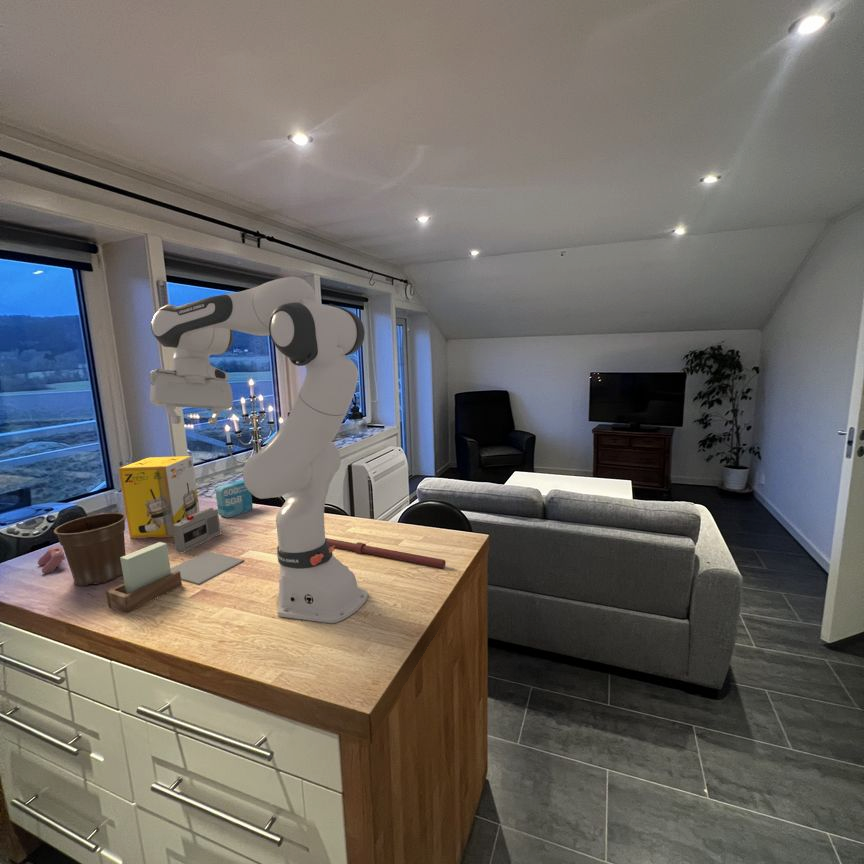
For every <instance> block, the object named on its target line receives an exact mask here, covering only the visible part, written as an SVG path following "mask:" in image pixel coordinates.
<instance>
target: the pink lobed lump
mask: <svg viewBox="0 0 864 864" xmlns="http://www.w3.org/2000/svg"><path fill="white" fill-rule="evenodd" d="M65 559H67V558H66V555H65V552H64V549H63V546H61V545H54V546H51V547H50V548H49V549H48V550H47V551H45V553H43V555H42V556H40V558H39V559H38V561H37V564H38V566H43V567H42V568H41V573H42V574H44V575H45V573H46V574H49V573H51V572H53V571H54V570H55V569H56V567H57V568H58V567H59V566H60V564H62V563H63V561H65ZM44 564H45V565H44ZM48 572H49V573H48Z"/></svg>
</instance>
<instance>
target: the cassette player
mask: <svg viewBox="0 0 864 864" xmlns="http://www.w3.org/2000/svg"><path fill="white" fill-rule="evenodd" d="M172 526H173V533H174V537H173V538H174V539H173V540H174V545H175V552H176V551H177V552H176V553H181V552H183V553H185V552H187V551H189V550H191V549H193V548H195V547H197V546H199V545H201V544H203V543H205V542H207V541H209V540H211V539H213V538H215V537H217V536H219V535H221V534H222V533H221V531H222V530H221V525H220V515H219V514H218V508H214V507H212V506H210V507H207V508H205V509H203V510H200V512H198V513H195V514H193V515H190V516H188V517H187V519H186V520H184V521H181V522H179V523H176V524H174V525H172ZM220 533H221V534H220ZM218 534H219V535H218ZM216 535H217V536H216ZM214 536H215V537H214ZM212 537H213V538H212ZM210 538H211V539H210ZM208 539H209V540H208ZM206 540H207V541H206ZM204 541H205V542H204ZM202 542H203V543H202ZM200 543H201V544H200ZM198 544H199V545H198ZM196 545H197V546H196ZM194 546H195V547H194ZM192 547H193V548H192ZM190 548H191V549H190ZM188 549H189V550H188ZM186 550H187V551H186ZM184 551H185V552H184Z"/></svg>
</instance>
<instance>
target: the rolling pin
mask: <svg viewBox="0 0 864 864" xmlns="http://www.w3.org/2000/svg"><path fill="white" fill-rule="evenodd" d="M325 538H326V539H327V541H328V543H329V546H330V547H332V546H334V545H335V547H334V548H335V549H336V548H337V549H343V550H348V551H354V552H356V553H355V554H359V553H360V555H363V554H369V555H373V556H379V557H384V558H389V559H394V560H401V561H405V562H408V563H409V562H410V563H415V564H421V565H425V566H429V565H430V567H435V568H439V569H445V567H446V563H447V562H446V560H445V559H442V558H436V557H431V556H425V555H419V554H417V553H415V554H414V553H410V552H403V551H399V550H393V549H389V548H382V547H376V546H371V545H367V544H366V543H363V542H356V543H355V542H349V541H344V540H340V539H332V538H328V537H325ZM362 553H363V554H362Z"/></svg>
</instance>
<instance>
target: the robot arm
mask: <svg viewBox="0 0 864 864" xmlns="http://www.w3.org/2000/svg"><path fill="white" fill-rule="evenodd" d="M150 328H151V333H152V334H153V336H154V338H155V339H156V340H157V341H158V342H159V344H160V345H162V347H165V348H172V350H173V358H172V370H170V369H163V368H156V369H153V370H151V371H150V372H149V383H150V389H149V390H150V391H149V402H150V403H151V404H152V405H153V406H160V407H165V410H166V412H167V413H168V415H169V417H171V425H172V424H176V425H179V424H181V422H182V419H181V418H182V416H181V415H178V414H177V413H176V411H175V410H176V407H178V408H190V409H194V408H195V409H206V410H211V413H212V417H210V418H208V425H209V426H216V425H218V418H219V415H220V413H221V410H222V411H224V410H229V409H231V408H232V407H233V405H234V398H233V397H234V395H233V391H232V390H233V389H232V386H231V384H230V383H229V382H228V381H229V380H230V375H229V373H228V372H226V371H224V370H221V369H220V368H217V367H215V366H213V365H212V364H211V361H210V356H212V355H213V356H218V355H223V354H225V353H226V352H227V351H229V350H230V348H231V347H232V346H233V342H234V335H233V332H234V331H235V332H239V333H245V334H247V335H248V334H249V335H252V336H263V337H264V336H266V337H267V336H270V339H271V341H272V343H273V344H274V346H275V347H276V349H277V350H278V351H279V353H281V354H282V355H284V356H286V357H287V358H289V360H290V362H291V363H292V364H293V365H295V366H298V367H302V366H304V367H305V369H306V371H305V376H304V380H303V382H302V385H301V387H300V389H299V392H298V393H297V396H296V399H295V401H294V403H293V406H292V408H291V410H290V412H289V415H288V417H287V419H286V420H285V422H284V423H283V424H282V426H281V427H280V428H279V429H278V431H277V432H276V433H275V434H274V436H273V437H272V438H271V439H270V440H269V442H268V443H267V444H266V445H264V446H263V448H261V449H260V450H259V451H258V452H256V453H255V454H254V455H252V456H251V457H249V458H248V459H247V460H246V461H245V463H244V466H243V469H242V481H244V484H245V486H246V488H247V489H248V491H249V492H250V493H251V496H253V497H255V498H258V499H260V500H263V499H271V498H272V499H273V498H280V497H283V496H286V495H287V498H286V499H285V502H284V503H283V504H282V506H281V507H280V509H279V510H278V512H277V514H276V517H275V523H276V533H277V542H278V545H277V548H276V551H277V553H276V555H277V561H278V563H279V580H278V581H279V584H278V585H279V587H278V589H279V590H278V596H277V600H276V601H277V602H276V603H277V606H278V607H277V616H278V617H282V618H290V619H296V620H302V621H303V620H304V621H309V622H310V621H312V622H319V623H325V624H326V623H327V624H336V623H338V622H341V621H343V620H346V619H347V618H349V617H351V615H353V614H355V613H356V612H357V611H358V610H360V608H361V607H362V606H363V605H364V604H366V601H367V600H368V597H369V593H368V590H367V589H364V588H362V587H359V586H358V581H357V578H356V575H355V573H354V572H353V571H352V570H350V569H349V567H348V566H347V565H344V564H343V563H342V562H341V561H340V560H339V559H337V558H336V557H335V556H334V554H333V552H334V551H336V547H335V545H334V546H332V547H331V546H329V543H328V541H327V539H326V538H327V537H326V529H325V505H326V504H325V503H326V498H327V495H328V492H329V488H330V485H331V482H332V481H333V478H334V477H335V475H336V473H337V472H338V471H339V469H340V467H341V459H342V458H341V453H340V450H339V449H338V447H337V445H336V444H335V443H334V442H333V440H334V439H335V438H336V436H337V434H338V432H339V430H340V428H341V425H342V423H343V421H344V419H345V416H346V415H347V414H348V410H349V408H350V406H351V403H352V401H353V398H354V395H355V392H356V387H357V384H358V381H359V380H358V379H359V370H358V367H357V365H356V364H355V362H354V361H353V360H351V358H349V357H348V356H349V355H351V354H352V355H353V354H354V353H356V352H358V350H360V348H361V347H362V345H363V343H364V341H365V334H366V333H365V326H364V323H363V321H362V319H361V318H360V317H359V316H358V315H357V314H356V313H354V312H353V311H351V310H349V309H346V308H343V307H341V306H338V305H336V304H333V303H329V304H327V305H326V304H322V303H320V302H319V301H318V300H317V296H316V292H315V290H314V288H313V287H312V286H311V285H310V284H309V282H307V281H306V280H305V279H303V278H301V277H299V276H297V277H296V276H289V277H288V276H287V277H282V278H281V277H280V278H277V279H273V280H270V281H267V282H264V283H262V284H260V285H258V286H255V287H252V288H247V289H245V290H242V291H237V292H230V293H226V294H225V293H224V294H219V295H213V296H209V297H205V298H202V299H199V300H195V301H192V302H189V303H185V304H182V305H178V306H177V305H174V304H166V305H163V306H162V307H160V308H159V309H158V310H156V311H155V312H154V314H153V316H152V318H151V322H150Z"/></svg>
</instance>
